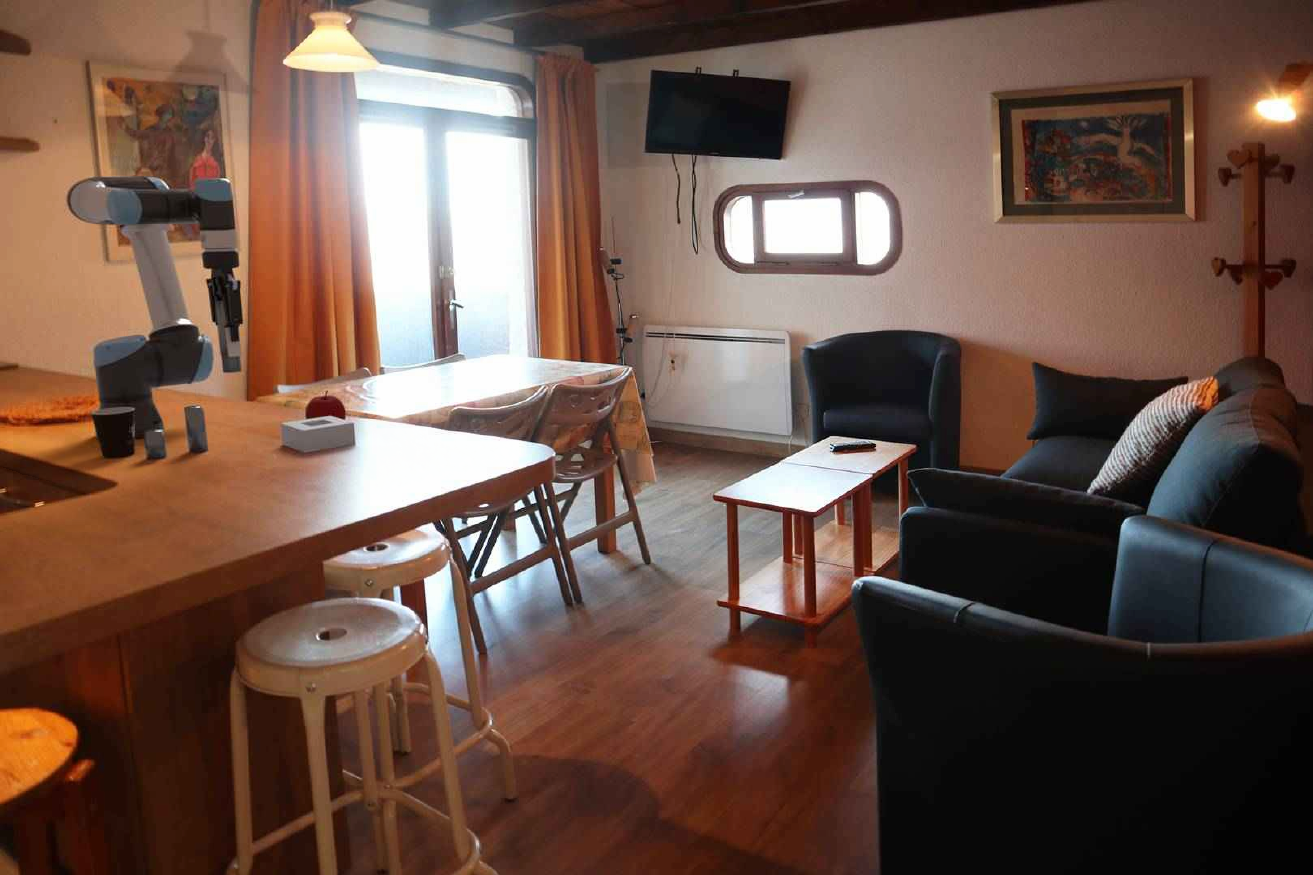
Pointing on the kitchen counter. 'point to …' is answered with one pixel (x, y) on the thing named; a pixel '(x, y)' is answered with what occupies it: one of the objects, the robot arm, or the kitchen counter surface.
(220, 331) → the long pin
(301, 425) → the hole block
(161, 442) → the short pin
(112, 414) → the coffee mug
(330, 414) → the apple
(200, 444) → the medium pin
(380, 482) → the kitchen counter surface
